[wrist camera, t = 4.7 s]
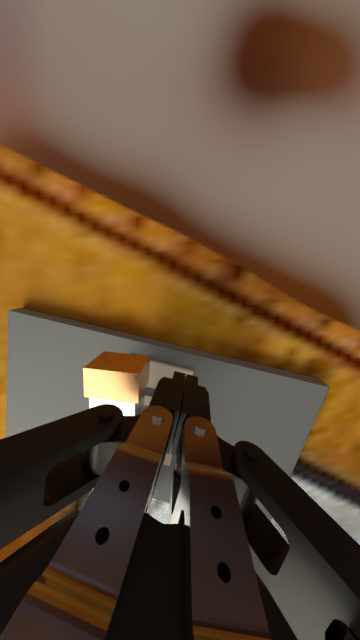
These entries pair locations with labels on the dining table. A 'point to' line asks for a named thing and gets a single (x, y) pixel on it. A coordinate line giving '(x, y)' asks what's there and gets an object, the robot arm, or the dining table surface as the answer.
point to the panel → (211, 369)
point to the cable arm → (117, 381)
